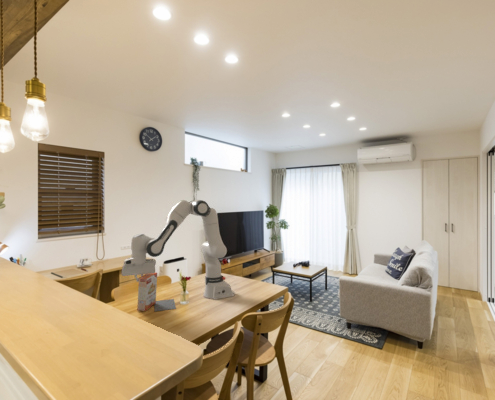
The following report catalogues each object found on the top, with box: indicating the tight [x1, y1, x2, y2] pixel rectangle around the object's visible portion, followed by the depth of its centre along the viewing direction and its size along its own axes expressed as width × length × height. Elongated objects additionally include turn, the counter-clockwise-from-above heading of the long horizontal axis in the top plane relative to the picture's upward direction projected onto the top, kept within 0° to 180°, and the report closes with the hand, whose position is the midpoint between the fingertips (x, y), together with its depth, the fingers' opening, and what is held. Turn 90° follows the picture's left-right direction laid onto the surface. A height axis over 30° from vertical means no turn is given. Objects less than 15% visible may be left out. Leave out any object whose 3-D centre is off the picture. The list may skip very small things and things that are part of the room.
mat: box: [153, 298, 177, 312], centre depth 185 cm, size 13×18×1 cm
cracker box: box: [137, 271, 158, 312], centre depth 181 cm, size 14×6×21 cm, turn 171°
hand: (138, 281), depth 180 cm, fingers closed
